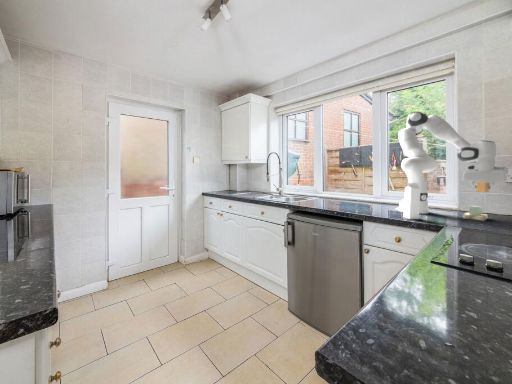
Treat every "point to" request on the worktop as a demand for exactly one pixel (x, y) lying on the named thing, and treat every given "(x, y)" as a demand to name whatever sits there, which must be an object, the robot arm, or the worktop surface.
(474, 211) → the sage block
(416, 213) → the milk
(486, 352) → the worktop surface
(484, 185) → the orange block
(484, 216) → the base board
